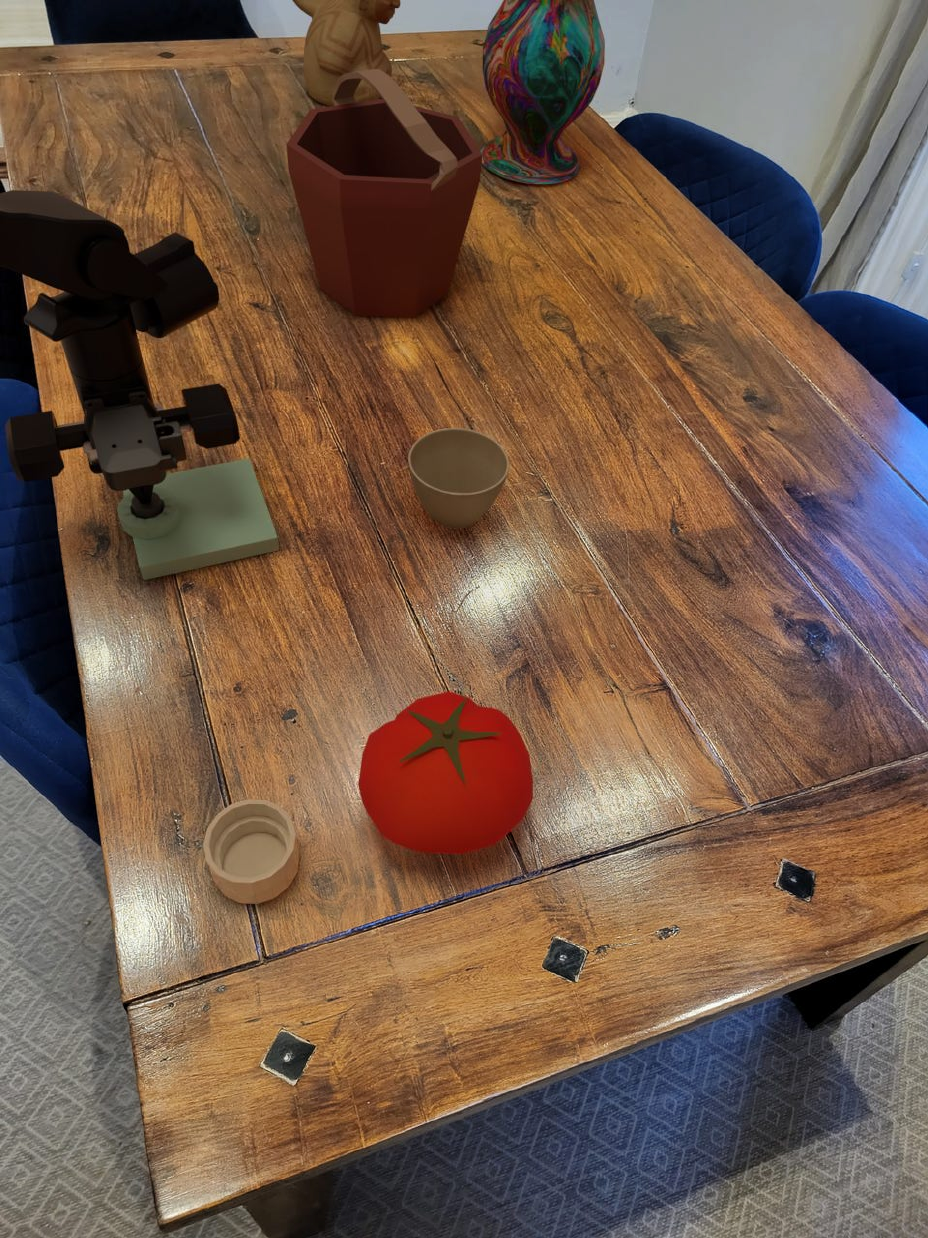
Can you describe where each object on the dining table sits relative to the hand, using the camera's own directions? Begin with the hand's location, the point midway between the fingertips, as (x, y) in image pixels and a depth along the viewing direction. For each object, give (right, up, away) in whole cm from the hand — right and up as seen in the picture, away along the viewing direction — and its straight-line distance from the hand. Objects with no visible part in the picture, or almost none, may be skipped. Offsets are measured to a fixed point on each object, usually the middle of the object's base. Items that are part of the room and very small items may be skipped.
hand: (145, 500), depth 83 cm
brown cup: (+29, 0, +9) cm, 30 cm away
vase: (+41, +63, +60) cm, 97 cm away
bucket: (+19, +33, +34) cm, 52 cm away
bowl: (+15, -30, -17) cm, 37 cm away
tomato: (+28, -26, -12) cm, 41 cm away
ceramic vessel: (+9, +81, +72) cm, 109 cm away
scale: (+4, -2, +5) cm, 6 cm away
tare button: (0, -1, +1) cm, 2 cm away
